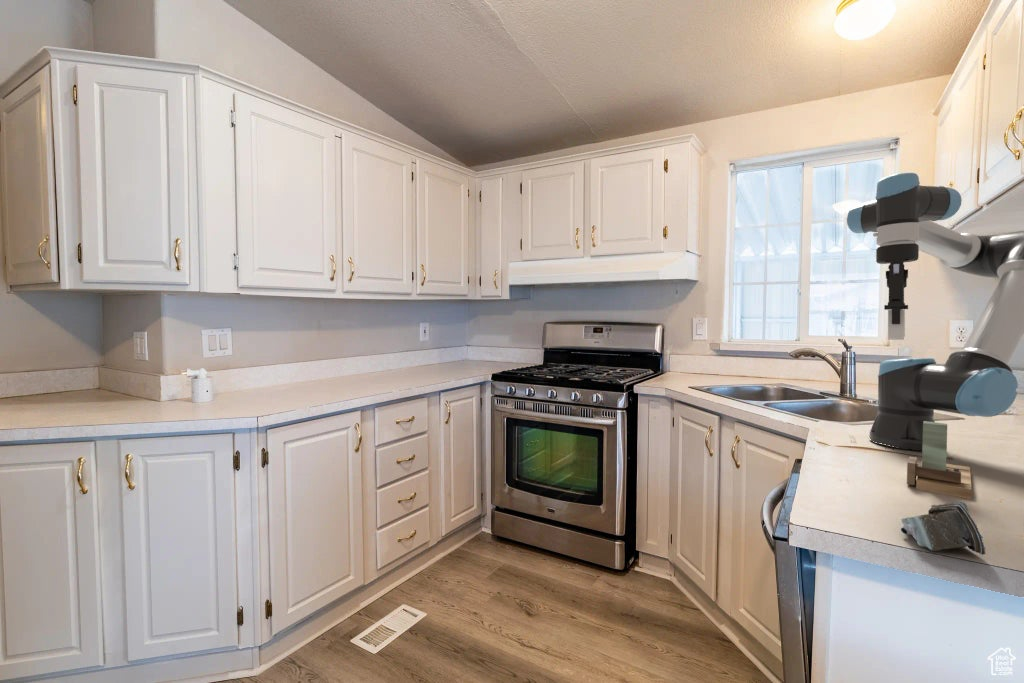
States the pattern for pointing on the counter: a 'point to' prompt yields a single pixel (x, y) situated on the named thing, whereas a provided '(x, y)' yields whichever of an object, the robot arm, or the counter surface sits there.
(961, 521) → the chocolate cake
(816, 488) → the counter surface
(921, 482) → the oak board
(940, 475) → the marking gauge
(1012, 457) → the counter surface
